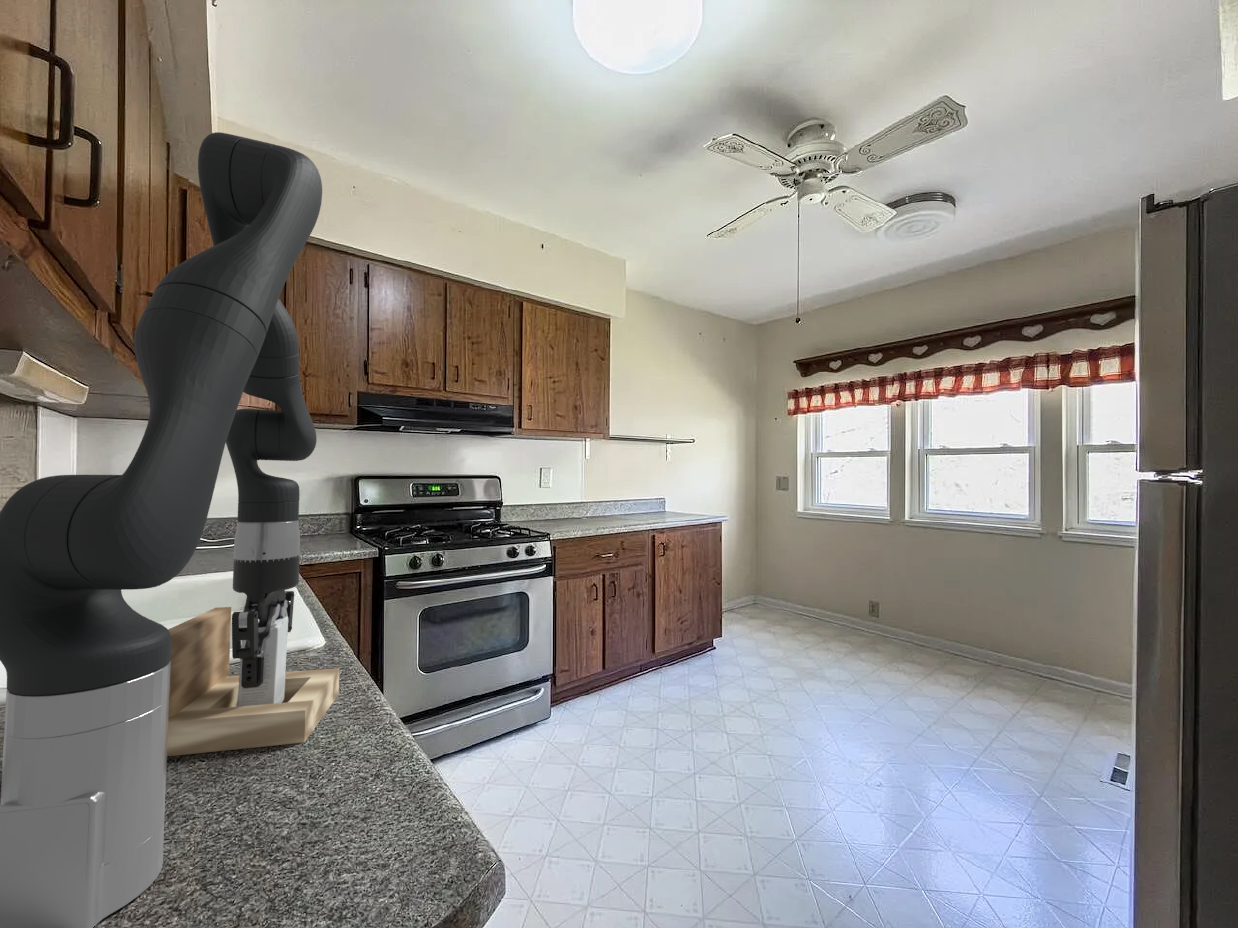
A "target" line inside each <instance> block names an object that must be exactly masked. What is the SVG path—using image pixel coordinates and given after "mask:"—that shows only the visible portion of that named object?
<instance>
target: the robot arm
mask: <svg viewBox="0 0 1238 928" xmlns="http://www.w3.org/2000/svg"><path fill="white" fill-rule="evenodd" d="M201 142H202V143H201V144H200V147H199V150H198V159H197V170H198V171H197V172H198V173H197V174H198V180H199V181H198V182H199V183H198V184H199V187H200V189H199V190H200V194H201V198H202V202H203V208H204V212H205V216H206V220H207V224H208V228H209V232H210V236H211V241H212V245H213V246H211V247H209V248H207V249H205V250H203V251H201V252H199V253H197V254H195V255H193V256H192V257H189V258H188V259H186V260H184V261H182V262H181V263H179V264H178V265H176V266H175V267H174V268H172V269H171V270H169V271H168V272H167V273H166V274H165V275H164V276H163V278H162V279H161V280H160V282H159V283H158V284H157V286H156V288H155V290H154V292H153V294H152V296H151V298H150V299H149V301H148V303H147V304H146V307H145V309H144V311H143V313H142V314H141V316H140V319H139V321H138V323H137V325H136V328H135V330H134V336H133V337H134V338H133V345H134V347H133V348H134V354H135V355H134V356H135V358H136V359H135V360H136V362H137V368H138V370H139V374H140V376H141V380H142V382H143V385H144V387H145V390H146V394H147V398H148V400H149V401H148V402H149V416H148V420H147V425H146V428H145V431H144V433H143V436H142V439H141V440H140V443H139V446H138V448H137V450H136V452H135V454H134V455H133V458H132V460H131V461H130V463H129V465H128V467H127V468H126V469H125V471H124V472H123V473H122V474H59V475H52V476H46V477H41V478H39V479H36V480H34V481H31V482H29V483H26V484H24V486H22V487H20V488H19V489H17V490H16V491H15V492H14V493H13V494H12V495H11V496H9V498H8V500H7V501H6V502H5V503H4V505H3V507H2V508H1V510H0V662H1V664H2V665H3V667H4V668H5V671H6V695H5V697H6V698H5V712H4V713H5V714H4V716H5V717H4V732H3V745H2V746H3V748H2V749H3V750H2V767H1V785H0V786H1V788H0V928H93V927H94V926H95V927H96V926H97V924H99V923H100V922H101V921H102V920H103V919H105V918H106V917H108V916H109V915H111V914H113V913H115V912H117V911H118V910H120V909H121V908H124V907H125V906H126V905H128V904H129V903H131V902H132V901H133V900H134V899H136V898H138V897H139V896H140V895H141V894H142V893H143V892H144V891H146V890H147V889H148V888H149V887H151V885H152V884H153V883H154V882H155V881H156V880H157V878H158V877H159V874H160V873H161V871H162V869H163V864H164V863H163V862H164V843H165V842H164V839H165V838H164V837H165V836H164V835H165V811H166V809H165V808H166V784H167V783H166V782H167V763H168V762H167V760H168V756H167V738H168V713H169V693H170V668H171V661H170V660H171V635H170V632H169V630H168V628H167V627H166V626H164V625H163V624H161V623H159V622H158V621H157V622H156V621H155V620H152V619H150V618H149V617H146V616H143V615H142V614H140V613H139V612H137V611H136V610H134V609H133V608H132V607H131V606H130V605H129V604H128V603H127V602H126V600H125V599H124V597H123V594H122V592H123V591H124V590H127V591H128V590H132V591H133V590H145V589H153V588H156V587H159V586H161V585H164V584H166V583H169V582H170V581H171V580H172V579H174V578H175V577H177V576H178V575H179V574H180V573H181V572H182V570H184V568H185V567H186V566H187V564H188V563H189V562H190V561H191V559H192V557H193V555H194V553H195V551H196V550H197V548H198V545H199V544H200V543H199V542H200V541H201V538H202V535H203V532H204V529H205V526H206V523H207V519H208V515H209V512H210V507H211V504H212V500H213V497H214V491H215V488H216V483H217V480H218V475H219V470H220V466H221V463H222V460H223V459H222V458H223V455H224V450H225V447H226V448H227V451H228V454H229V456H230V457H229V458H230V459H231V463H232V466H233V470H234V474H235V478H236V484H237V493H238V495H237V499H238V500H237V523H236V531H235V535H234V541H233V542H234V543H233V544H234V545H233V570H232V571H233V572H232V589H233V591H234V592H235V593H239V594H243V593H244V594H245V595H246V598H245V599H246V600H245V604H244V607H243V610H241V611H233V612H232V613H231V638H232V639H231V644H232V645H231V652H232V658H233V659H235V660H236V659H238V660H240V659H242V680H241V686H242V687H243V688H254V687H259V686H260V685H261V684H262V683H263V666H264V656H263V655H264V652H265V647H266V640H267V639H269V638H270V635H271V627H272V626H274V625H275V621H276V620H277V619H279V618H285V617H287V616H288V633H291V631H292V630H293V615H294V601H295V591H294V590H290V589H294V588H295V587H297V586H298V585H299V582H300V580H299V579H300V558H301V557H300V556H301V555H300V553H301V549H300V548H301V531H300V522H299V515H300V513H299V512H300V496H301V495H300V494H301V493H300V491H301V490H300V485H299V484H298V482H297V481H295V480H293V479H291V478H290V479H289V478H285V477H279V476H274V475H271V474H268V473H265V472H264V471H262V469H261V468H260V466H259V465H258V464H259V463H258V461H282V462H283V461H285V462H289V461H290V462H298V461H304V460H306V459H308V458H309V457H310V456H311V455H312V454H313V452H314V450H315V448H316V446H317V438H318V437H317V431H316V428H315V425H314V422H313V420H312V417H311V414H310V412H309V410H308V407H307V404H306V401H305V396H304V393H303V390H302V385H301V383H302V382H301V374H300V345H299V344H300V343H299V336H298V332H297V329H296V326H295V324H294V322H293V319H292V318H291V315H290V314H289V312H288V310H287V309H286V307H285V305H284V303H282V301H281V300H280V297H281V293H282V291H283V289H284V286H285V283H286V282H287V279H288V277H289V275H290V273H291V271H292V269H293V267H294V266H295V263H296V262H297V260H298V258H299V256H300V254H301V252H302V251H303V249H304V247H305V245H306V243H307V242H308V240H309V239H310V236H311V234H312V232H313V230H314V228H315V226H316V223H317V221H318V219H319V215H320V213H321V212H320V211H321V207H322V200H323V184H322V183H323V182H322V178H321V175H320V172H319V169H318V168H317V166H316V164H315V163H314V162H313V161H312V160H311V159H310V158H309V156H307V155H305V154H304V153H302V152H300V151H298V150H295V149H293V148H290V147H289V148H288V147H286V146H282V145H277V144H275V143H274V144H273V143H270V142H265V141H260V140H257V139H253V138H249V137H245V136H240V135H237V134H231V133H226V132H218V131H217V132H211V133H210V134H208V135H206V136H205V138H204V139H203V140H202V141H201ZM243 393H244V394H246V395H248V396H250V397H251V396H252V397H255V398H259V399H262V400H266V401H269V402H272V403H274V404H276V405H277V406H278V407H279V410H277V409H260V408H259V409H258V408H239V409H238V407H239V404H240V401H241V398H242V395H243ZM280 409H281V410H280ZM122 590H123V591H122ZM258 627H266V629H265V631H263V632H258ZM258 639H259V644H258ZM248 641H250V648H248ZM95 927H94V928H95Z"/></svg>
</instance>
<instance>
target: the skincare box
mask: <svg viewBox="0 0 1238 928" xmlns="http://www.w3.org/2000/svg"><path fill="white" fill-rule="evenodd" d="M265 629H266V627H258V632H263V631H265ZM288 633H289V632H288V616H287V617H285V618H279V619H277V620H276V621H275V625H274V626H272V627H271V635H270V638H269V639H267V640H266V647H265V652H264V655H263V656H264V666H263V683H262V684H261V685H260V686H259V687H254V688H243V687H242V686H241V680H242V659H239V660H240V661H239V690H238V706H237V707H239V706H251V705H263V704H275V703H282V701H283V700H284V692H285V673H286V672H287V669H286V668H287V650H288V649H287V648H288V647H287V646H288ZM258 644H259V639H258ZM248 648H250V641H248Z"/></svg>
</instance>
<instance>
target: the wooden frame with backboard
mask: <svg viewBox="0 0 1238 928" xmlns="http://www.w3.org/2000/svg"><path fill="white" fill-rule="evenodd" d="M167 629H168V628H167ZM168 630H169V632H170V635H171V660H170V661H171V668H170V693H169V713H168V738H167V757H172V756H173V757H174V756H175V757H176V756H184V755H193V754H194V755H195V754H203V753H213V752H215V753H216V752H223V751H225V752H226V751H232V750H241V749H242V750H244V749H251V748H252V749H253V748H261V747H262V748H263V747H271V746H282V745H291V744H302V743H305V742H306V741H307V740H308V738H309V737H310V735H311V734H312V733H313V731H314V730H315V728H316V727H317V725H318V724H319V722H320V721H321V720H322V718H323V717H324V716H325V714H326V713H327V712H328V710H329V709H330V707H331V706H332V705H333V703H334V702H335V700H336V699H337V698H338V696H339V694H340V692H339V691H340V668H339V667H337V668H324V669H323V668H322V669H313V670H311V669H310V670H298V671H297V670H296V671H286V673H285V692H284V700H283V701H282V703H275V704H263V705H251V706H239V707H237V706H238V690H239V675H230V659H231V658H230V656H231V655H230V653H231V632H232V606H225V607H224V606H223V607H222V606H221V607H219V606H218V607H214V608H212V609H210V610H207V611H205V612H203V613H201V614H199V615H197V616H195V617H193V618H190V619H188V620H186V621H184V622H182V623H181V622H180V623H179V624H177V625H174V626H172V627H171V628H169V629H168Z"/></svg>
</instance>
